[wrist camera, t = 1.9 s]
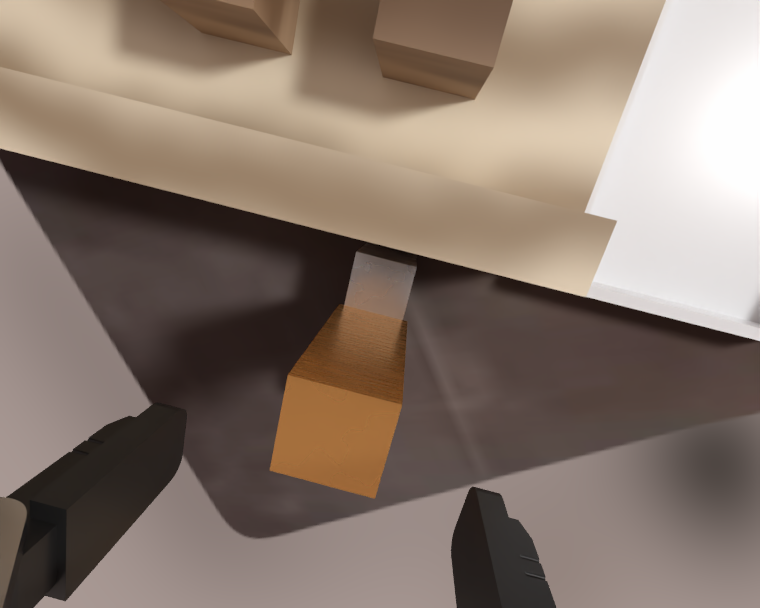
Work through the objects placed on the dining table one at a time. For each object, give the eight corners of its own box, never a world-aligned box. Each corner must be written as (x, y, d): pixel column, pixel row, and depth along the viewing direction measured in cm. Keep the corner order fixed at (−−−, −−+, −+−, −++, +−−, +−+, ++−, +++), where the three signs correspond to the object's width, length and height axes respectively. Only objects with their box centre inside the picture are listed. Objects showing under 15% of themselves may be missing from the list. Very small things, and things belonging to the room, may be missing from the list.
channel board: (63, -241, 17) (-160, -520, 11) (665, -102, 17) (833, -305, 10) (63, 148, 22) (-92, 125, 15) (532, 266, 21) (585, 297, 15)
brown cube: (406, -35, 15) (403, -116, 11) (505, -11, 15) (537, -85, 11) (382, 77, 16) (372, 38, 12) (475, 99, 16) (493, 67, 12)
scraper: (362, 241, 22) (304, 287, 10) (420, 256, 22) (427, 318, 10) (331, 377, 24) (257, 535, 13) (383, 391, 24) (356, 562, 13)
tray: (676, -114, 17) (732, -181, 14) (997, -41, 16) (1122, -93, 13) (534, 276, 22) (552, 288, 19) (777, 338, 21) (834, 359, 18)
